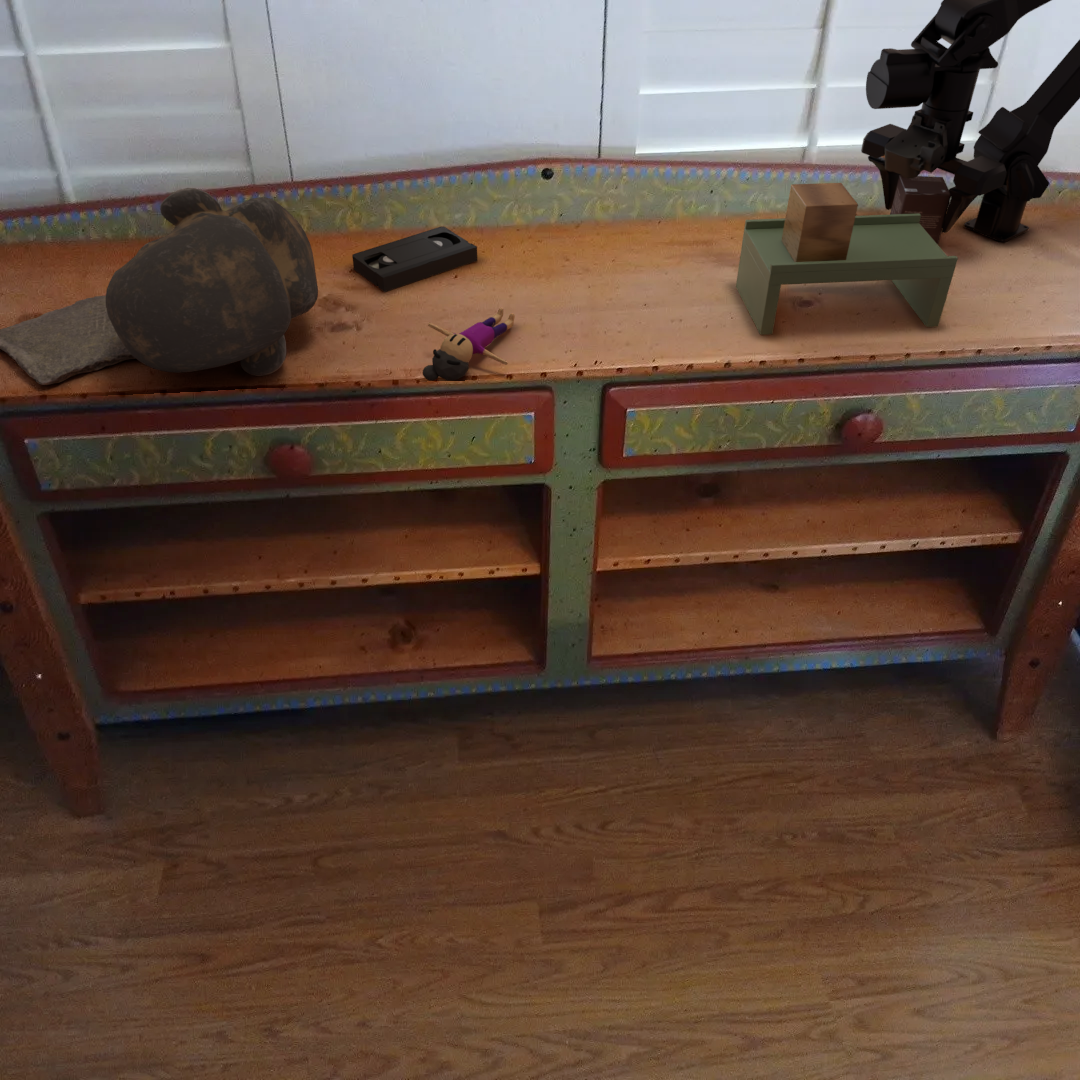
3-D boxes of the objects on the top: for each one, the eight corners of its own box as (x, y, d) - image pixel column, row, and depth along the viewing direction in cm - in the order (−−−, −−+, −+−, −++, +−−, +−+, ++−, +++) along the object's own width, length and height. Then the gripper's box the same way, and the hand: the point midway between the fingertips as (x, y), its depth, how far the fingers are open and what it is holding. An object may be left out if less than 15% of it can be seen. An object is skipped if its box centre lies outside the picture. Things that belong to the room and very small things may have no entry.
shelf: (902, 279, 138) (919, 213, 132) (938, 326, 129) (958, 257, 123) (735, 286, 136) (745, 219, 130) (760, 335, 127) (771, 265, 121)
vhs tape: (443, 239, 145) (442, 225, 143) (477, 260, 140) (477, 246, 139) (352, 268, 138) (350, 254, 137) (384, 292, 133) (383, 277, 132)
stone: (173, 330, 121) (51, 384, 113) (178, 352, 123) (58, 406, 115) (93, 278, 129) (-27, 325, 121) (99, 299, 131) (-18, 346, 123)
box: (930, 227, 149) (944, 176, 144) (938, 246, 145) (952, 194, 140) (886, 225, 150) (898, 174, 145) (892, 244, 145) (905, 192, 140)
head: (250, 151, 125) (49, 239, 117) (310, 136, 106) (76, 240, 98) (328, 314, 135) (146, 407, 126) (395, 327, 116) (187, 437, 108)
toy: (547, 324, 125) (488, 365, 113) (535, 364, 128) (476, 409, 116) (472, 287, 127) (406, 324, 115) (461, 327, 130) (396, 367, 118)
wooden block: (829, 239, 128) (841, 182, 124) (845, 262, 124) (858, 204, 119) (781, 240, 128) (791, 184, 123) (795, 264, 123) (806, 206, 118)
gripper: (847, 96, 137) (824, 212, 147) (973, 140, 126) (939, 262, 136) (900, 79, 142) (875, 192, 153) (1025, 119, 131) (989, 238, 142)
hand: (916, 220), depth 146 cm, fingers open, 9 cm apart
